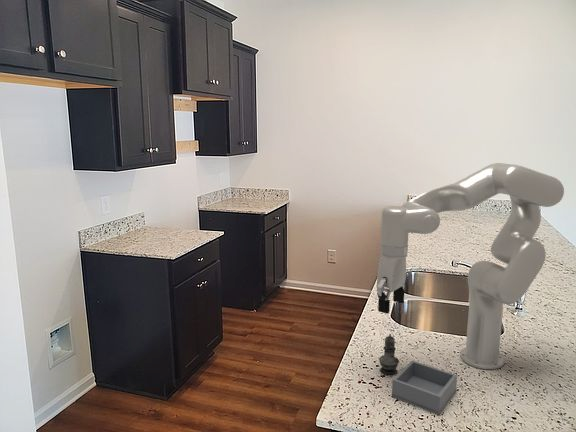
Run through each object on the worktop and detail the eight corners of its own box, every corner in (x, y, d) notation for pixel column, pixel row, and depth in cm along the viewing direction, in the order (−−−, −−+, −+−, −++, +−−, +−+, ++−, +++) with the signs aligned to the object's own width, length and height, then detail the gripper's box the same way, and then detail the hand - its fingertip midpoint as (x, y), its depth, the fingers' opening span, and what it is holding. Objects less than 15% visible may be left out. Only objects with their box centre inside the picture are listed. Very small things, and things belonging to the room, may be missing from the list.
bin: (411, 376, 132) (412, 360, 131) (456, 391, 124) (457, 375, 123) (391, 396, 122) (392, 379, 121) (439, 414, 114) (440, 397, 113)
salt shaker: (374, 371, 135) (376, 334, 132) (385, 363, 139) (386, 327, 137) (392, 378, 131) (393, 340, 128) (402, 370, 135) (404, 333, 133)
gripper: (394, 242, 136) (392, 295, 140) (367, 254, 123) (365, 313, 126) (418, 246, 132) (415, 301, 135) (392, 259, 119) (390, 320, 122)
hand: (391, 307), depth 131 cm, fingers open, 9 cm apart
